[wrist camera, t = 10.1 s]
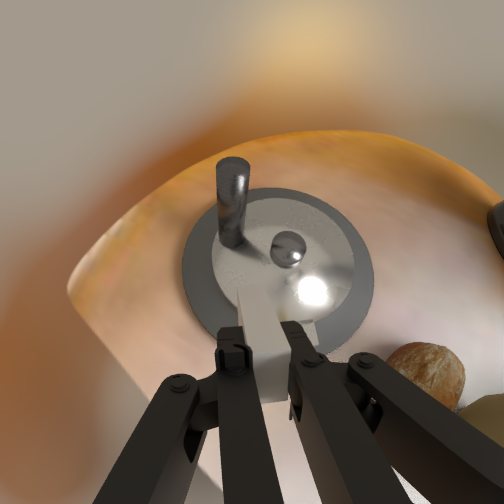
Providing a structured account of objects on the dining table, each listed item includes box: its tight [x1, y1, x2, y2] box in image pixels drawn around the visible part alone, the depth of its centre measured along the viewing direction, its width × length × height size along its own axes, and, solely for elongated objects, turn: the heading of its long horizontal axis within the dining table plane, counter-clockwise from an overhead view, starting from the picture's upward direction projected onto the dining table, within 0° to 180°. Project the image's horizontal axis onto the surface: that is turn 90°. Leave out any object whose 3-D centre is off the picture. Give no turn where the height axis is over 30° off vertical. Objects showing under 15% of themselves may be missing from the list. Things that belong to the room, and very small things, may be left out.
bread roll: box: [386, 342, 465, 411], centre depth 20 cm, size 10×10×8 cm
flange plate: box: [212, 157, 355, 348], centre depth 22 cm, size 14×16×10 cm
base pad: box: [182, 188, 374, 355], centre depth 26 cm, size 20×20×4 cm
